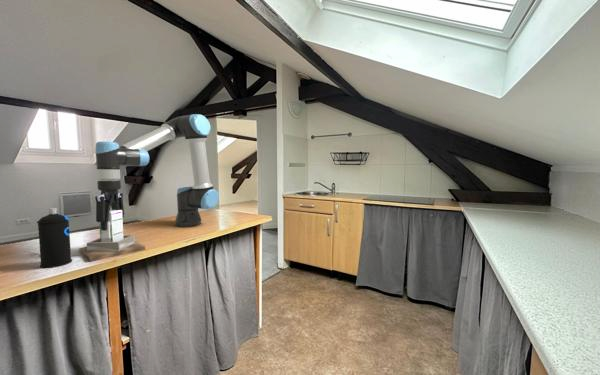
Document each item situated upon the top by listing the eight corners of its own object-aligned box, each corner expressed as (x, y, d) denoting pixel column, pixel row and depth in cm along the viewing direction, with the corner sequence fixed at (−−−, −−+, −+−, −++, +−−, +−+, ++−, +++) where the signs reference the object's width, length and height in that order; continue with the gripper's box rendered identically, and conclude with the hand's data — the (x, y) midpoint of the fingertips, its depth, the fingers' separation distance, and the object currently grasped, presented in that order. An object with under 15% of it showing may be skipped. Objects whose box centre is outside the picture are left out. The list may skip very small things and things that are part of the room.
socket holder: (130, 241, 115) (129, 231, 115) (145, 249, 104) (144, 237, 104) (79, 251, 101) (78, 239, 101) (90, 261, 90) (89, 248, 90)
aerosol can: (43, 270, 82) (39, 211, 81) (36, 265, 87) (32, 208, 85) (75, 262, 89) (72, 207, 88) (67, 258, 94) (64, 206, 92)
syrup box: (124, 243, 105) (123, 209, 104) (112, 247, 99) (111, 211, 98) (112, 242, 106) (110, 209, 105) (99, 246, 100) (98, 211, 99)
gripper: (114, 179, 110) (117, 230, 111) (80, 181, 90) (84, 242, 92) (132, 179, 111) (134, 229, 112) (102, 181, 91) (106, 242, 93)
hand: (112, 235), depth 102 cm, fingers closed on syrup box, 6 cm apart
